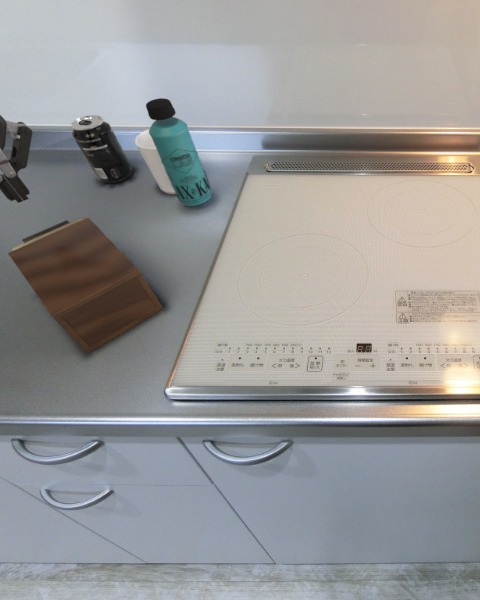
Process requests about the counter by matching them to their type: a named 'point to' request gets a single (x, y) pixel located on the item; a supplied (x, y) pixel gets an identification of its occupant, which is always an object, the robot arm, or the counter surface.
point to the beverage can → (101, 148)
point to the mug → (154, 161)
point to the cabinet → (86, 283)
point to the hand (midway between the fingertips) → (21, 198)
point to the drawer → (46, 232)
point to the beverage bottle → (178, 153)
